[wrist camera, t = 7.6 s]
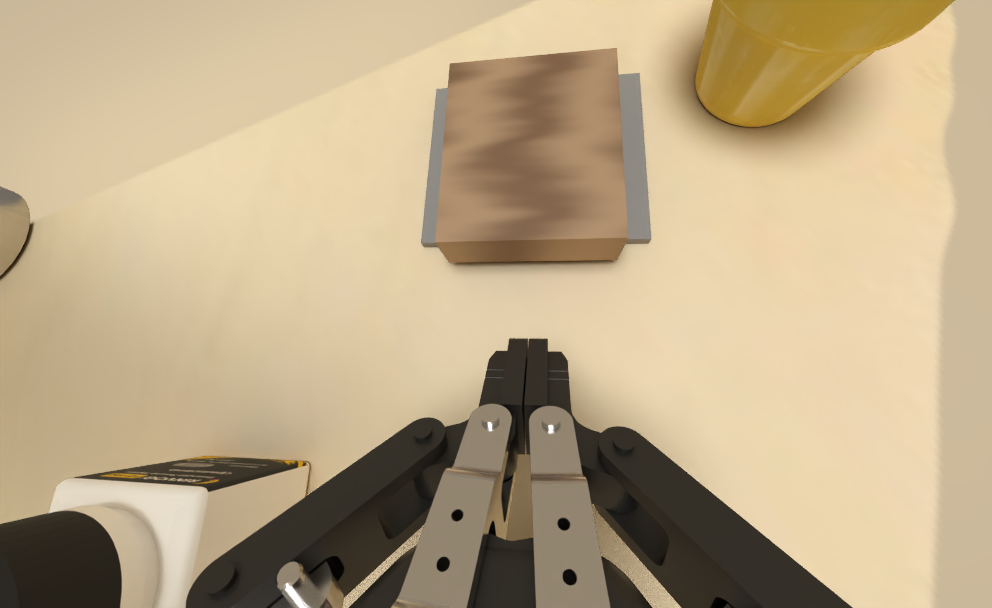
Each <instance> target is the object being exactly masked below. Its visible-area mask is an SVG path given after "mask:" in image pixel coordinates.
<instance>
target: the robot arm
mask: <svg viewBox="0 0 992 608" xmlns="http://www.w3.org/2000/svg"><path fill="white" fill-rule="evenodd" d="M29 224H30V214H29V208H28V206H27V203H26V201H25V200H24V199H23V198H22V197H21V196H20V195H18V194H16V193H15V192H13V191H10V190H7V189H5V188H2V187H0V276H1V275H2V274H3V273H4V272H5V271H6V269H7V268H8V267H9V266H10V265H11V264H12V263H13V261H14V260H15V258H16V257H17V255H18V254H19V252H20V251H21V249H22V247H23V244H24V242H25V240H26V237H27V234H28V231H29ZM525 442H526V450H527V454H530V459H531V487H532V513H533V538H528V539H523V540H518V541H508V540H506V534H507V526H508V520H509V514H510V508H511V502H512V496H513V490H514V484H515V478H516V468H517V459H518V454H525ZM591 503H593V504H594V505H595V508H596V510H597V511H598V513H599V514H600V515H601V516H602V517H603V518H604V520H605V521H606V522H607V523H608V524H609V525H610V526H611V528H612V529H613V530H614V531H615V532H616V533H617V534H618V536H619V537H620V538H621V539H622V540H623V541H624V542H625V544H626V545H627V546H628V547H629V548H630V549H631V550H632V552H633V553H634V554H635V555H636V556H637V557H638V558H639V560H640V561H641V562H642V563H643V564H644V565H645V566H646V567H647V569H648V570H649V571H650V572H651V573H652V574H653V575H654V577H655V578H656V579H657V580H658V581H659V582H660V583H661V585H662V586H663V587H664V588H665V589H666V590H667V591H668V593H669V594H670V595H671V596H672V597H673V598H674V599H675V601H676V602H677V603H678V604H679V605H680V606H681V607H682V608H852V607H851V606H850V605H849V604H847V603H846V602H845V601H844V600H842V599H841V598H840V597H839V596H838V595H836V594H835V593H834V592H833V591H831V590H830V589H829V588H828V587H826V586H825V585H824V584H823V583H822V582H820V581H819V580H818V579H817V578H815V577H814V576H813V575H812V574H811V573H809V572H808V571H807V570H806V569H804V568H803V567H802V566H801V565H799V564H798V563H797V562H796V561H795V560H793V559H792V558H791V557H790V556H788V555H787V554H786V553H785V552H784V551H782V550H781V549H780V548H779V547H777V546H776V545H775V544H774V543H773V542H771V541H770V540H769V539H768V538H766V537H765V536H764V535H763V534H761V533H760V532H759V531H758V530H757V529H755V528H754V527H753V526H752V525H750V524H749V523H748V522H747V521H746V520H744V519H743V518H742V517H741V516H739V515H738V514H737V513H736V512H734V511H733V510H732V509H731V508H730V507H728V506H727V505H726V504H725V503H723V502H722V501H721V500H720V499H719V498H717V497H716V496H715V495H714V494H712V493H711V492H710V491H709V490H708V489H706V488H705V487H704V486H703V485H701V484H700V483H699V482H698V481H696V480H695V479H694V478H693V477H692V476H690V475H689V474H688V473H687V472H685V471H684V470H683V469H682V468H681V467H679V466H678V465H677V464H676V463H674V462H673V461H672V460H671V459H670V458H668V457H667V456H666V455H665V454H663V453H662V452H661V451H660V450H658V449H657V448H656V447H655V446H654V445H652V444H651V443H650V442H649V441H647V440H646V439H645V438H644V437H643V436H641V435H640V434H639V433H637V432H636V431H634V430H632V429H629V428H626V427H611V428H608V429H606V430H605V431H603V432H602V433H599V432H596V431H593V430H590V429H588V428H586V427H584V426H582V425H581V424H579V423H578V422H577V421H576V420H575V418H574V417H573V415H572V412H571V402H570V389H569V375H568V361H567V359H566V358H565V356H564V355H563V354H562V352H548V339H529V348H528V339H511V338H510V339H509V344H508V351H496V352H495V353H494V354H493V355H492V357H491V358H490V359H489V362H488V367H487V371H486V376H485V381H484V385H483V390H482V394H481V399H480V403H479V407H478V408H477V409H476V410H474V411H473V413H472V414H471V416H470V418H469V419H468V420H467V421H465V422H462V423H460V424H456V425H451V426H447V427H444V425H443V424H442V423H441V422H440V421H439V420H437V419H434V418H421V419H418V420H416V421H414V422H412V423H411V424H409V425H408V426H406V427H405V428H403V429H402V430H401V431H399V432H398V433H396V434H395V435H393V436H392V437H391V438H389V439H388V440H386V441H385V442H383V443H382V444H380V445H379V446H378V447H376V448H375V449H373V450H372V451H370V452H369V453H368V454H366V455H365V456H363V457H362V458H360V459H359V460H358V461H356V462H355V463H353V464H352V465H350V466H349V467H348V468H346V469H345V470H343V471H342V472H340V473H339V474H337V475H336V476H335V477H333V478H332V479H330V480H329V481H327V482H326V483H325V484H323V485H322V486H320V487H319V488H317V489H316V490H315V491H313V492H312V493H310V494H309V495H307V496H306V497H305V498H303V499H302V500H300V501H299V502H297V503H296V504H295V505H293V506H292V507H290V508H289V509H287V510H286V511H284V512H283V513H282V514H280V515H279V516H277V517H276V518H274V519H273V520H272V521H270V522H269V523H267V524H266V525H264V526H263V527H262V528H260V529H259V530H257V531H256V532H254V533H253V534H252V535H250V536H249V537H247V538H246V539H244V540H243V541H241V542H240V543H239V544H237V545H236V546H234V547H233V548H231V549H230V550H229V551H227V552H226V553H224V554H223V555H221V556H220V557H219V558H217V559H216V560H214V561H213V562H212V563H211V564H210V565H208V566H207V567H206V568H205V569H204V570H203V571H202V572H201V574H200V575H199V576H198V577H197V579H196V580H195V582H194V583H193V585H192V587H191V588H190V590H189V593H188V595H187V599H186V608H342V607H343V601H344V597H345V596H346V595H347V594H349V593H350V592H351V591H352V590H353V589H354V588H355V587H356V586H357V585H358V584H360V583H361V582H362V581H363V580H364V579H365V578H366V577H367V576H368V575H369V574H370V573H372V572H373V571H374V570H375V569H376V568H377V567H378V566H379V565H380V564H381V563H382V562H384V561H385V560H386V559H387V558H388V557H389V556H390V555H391V554H392V553H393V552H394V551H396V550H397V549H398V548H399V547H400V546H401V545H402V544H403V543H404V542H405V541H407V540H408V539H409V538H410V537H411V536H412V535H413V534H414V533H415V532H416V531H417V530H419V529H420V528H421V527H422V526H423V525H424V524H425V525H424V528H423V531H422V534H421V536H420V539H419V542H418V545H416V546H415V547H413V548H411V549H410V550H408V551H407V552H406V553H405V554H403V555H402V556H401V557H400V558H399V559H398V560H397V561H396V562H395V563H394V564H393V565H392V566H391V567H389V568H388V569H387V570H386V571H385V572H384V573H383V574H382V575H381V576H380V577H379V578H378V579H377V580H376V581H375V582H374V583H373V584H372V585H371V586H370V587H369V588H368V589H367V590H366V591H365V592H364V593H363V594H362V595H361V596H360V597H359V598H358V599H357V600H356V601H355V602H354V603H353V604H352V605H351V606H350V607H349V608H652V607H651V606H650V604H649V603H648V602H647V600H646V599H645V598H644V596H643V595H642V594H641V593H640V591H639V590H638V589H637V587H636V586H635V585H634V584H633V582H632V581H631V580H630V579H629V578H628V577H627V576H626V575H625V574H624V573H623V572H622V571H621V570H620V569H619V568H618V567H617V566H615V565H614V564H613V563H612V562H610V561H609V560H607V559H606V558H604V557H602V556H601V554H600V548H599V543H598V537H597V532H596V526H595V521H594V515H593V510H592V505H591Z"/></svg>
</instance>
